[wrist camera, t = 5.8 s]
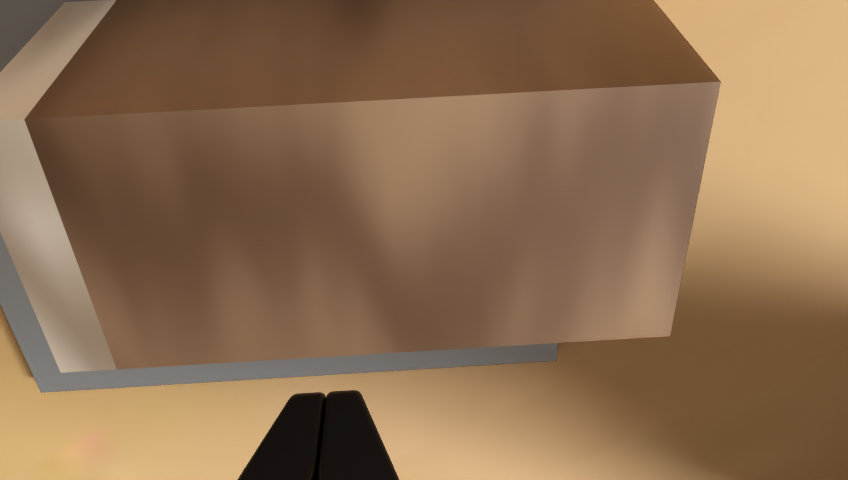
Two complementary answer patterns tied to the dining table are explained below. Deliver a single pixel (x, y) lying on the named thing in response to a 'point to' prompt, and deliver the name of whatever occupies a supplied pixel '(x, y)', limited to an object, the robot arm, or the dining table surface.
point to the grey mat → (3, 39)
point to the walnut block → (349, 176)
